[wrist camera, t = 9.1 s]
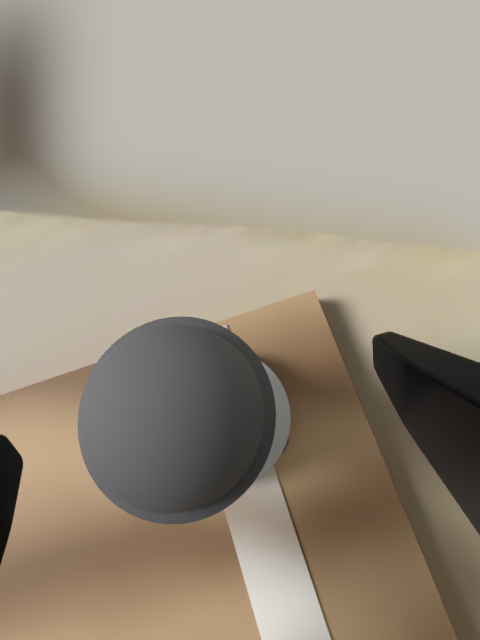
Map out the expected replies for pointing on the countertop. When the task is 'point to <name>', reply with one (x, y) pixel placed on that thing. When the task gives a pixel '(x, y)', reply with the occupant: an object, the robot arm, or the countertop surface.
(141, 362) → the grey domed cylinder
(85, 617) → the board
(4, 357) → the countertop surface
